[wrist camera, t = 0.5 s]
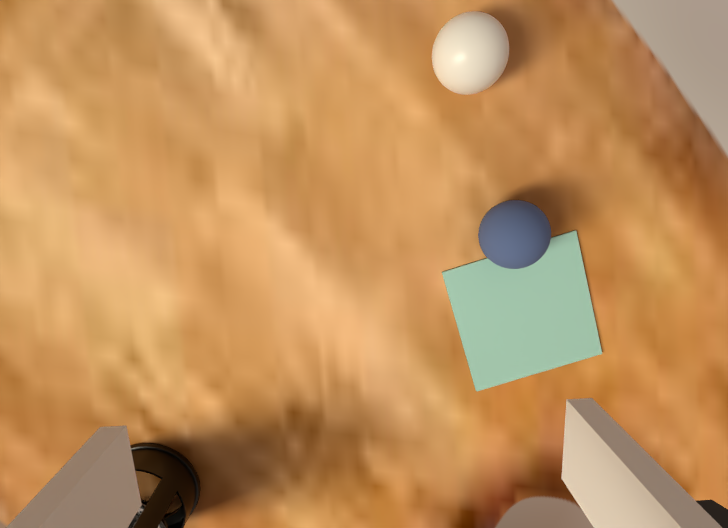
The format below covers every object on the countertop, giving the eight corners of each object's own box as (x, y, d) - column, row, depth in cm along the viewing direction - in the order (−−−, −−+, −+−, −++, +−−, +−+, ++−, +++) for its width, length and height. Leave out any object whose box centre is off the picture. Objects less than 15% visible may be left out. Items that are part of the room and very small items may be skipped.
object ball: (463, 208, 38) (482, 216, 32) (526, 188, 37) (555, 193, 32) (479, 268, 39) (499, 285, 34) (540, 249, 39) (570, 263, 33)
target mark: (441, 272, 39) (442, 272, 39) (575, 230, 38) (576, 230, 38) (475, 390, 42) (476, 391, 41) (601, 352, 41) (602, 353, 41)
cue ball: (418, 37, 35) (429, 15, 29) (485, 14, 34) (510, -13, 29) (436, 108, 36) (451, 98, 30) (502, 86, 36) (529, 73, 30)
